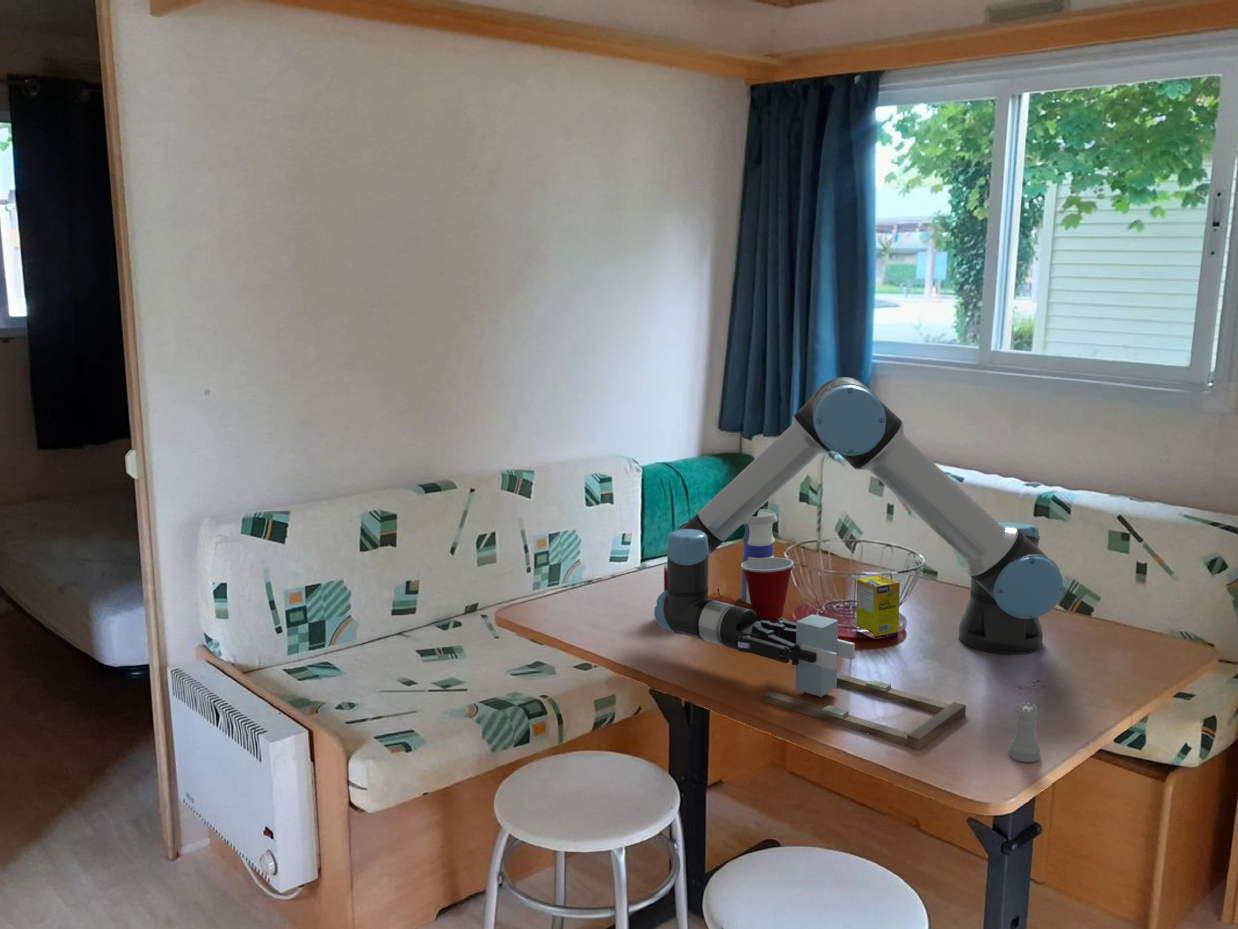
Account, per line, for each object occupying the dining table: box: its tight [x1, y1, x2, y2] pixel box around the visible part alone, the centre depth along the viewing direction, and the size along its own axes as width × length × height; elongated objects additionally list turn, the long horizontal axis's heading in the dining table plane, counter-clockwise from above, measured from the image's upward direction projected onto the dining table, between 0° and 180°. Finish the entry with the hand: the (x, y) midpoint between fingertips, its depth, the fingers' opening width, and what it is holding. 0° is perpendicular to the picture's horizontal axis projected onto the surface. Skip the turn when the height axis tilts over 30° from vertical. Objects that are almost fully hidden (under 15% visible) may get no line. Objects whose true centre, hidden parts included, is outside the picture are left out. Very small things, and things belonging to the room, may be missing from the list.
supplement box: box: [855, 574, 901, 639], centre depth 208 cm, size 6×6×11 cm
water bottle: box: [739, 508, 779, 605], centre depth 230 cm, size 8×9×25 cm
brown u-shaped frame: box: [763, 672, 967, 751], centre depth 175 cm, size 28×16×2 cm, turn 48°
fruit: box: [708, 588, 737, 606], centre depth 214 cm, size 7×7×8 cm
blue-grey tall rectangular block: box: [794, 613, 839, 698], centre depth 180 cm, size 5×5×12 cm
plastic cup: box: [740, 556, 795, 623], centre depth 219 cm, size 11×11×12 cm
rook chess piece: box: [1008, 702, 1042, 764], centre depth 157 cm, size 4×4×8 cm
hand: (844, 656), depth 176 cm, fingers closed on blue-grey tall rectangular block, 5 cm apart
